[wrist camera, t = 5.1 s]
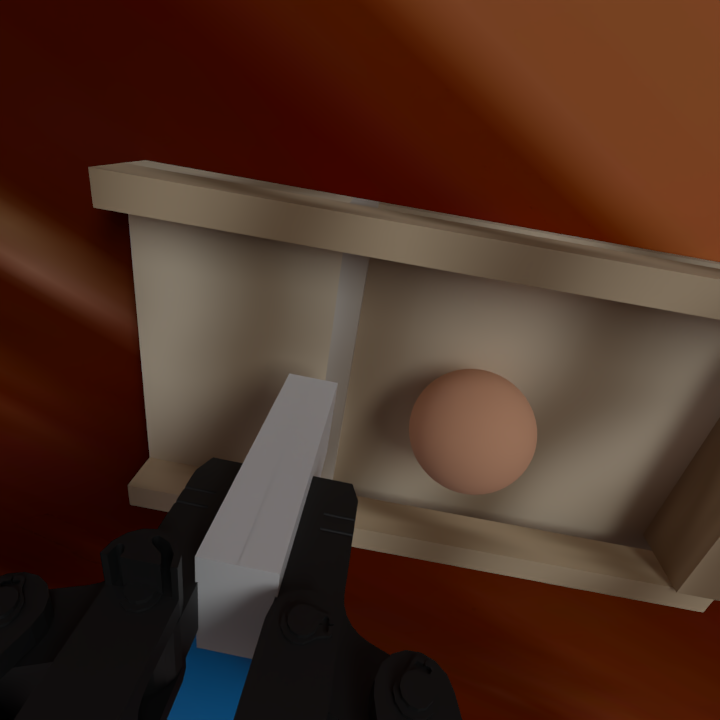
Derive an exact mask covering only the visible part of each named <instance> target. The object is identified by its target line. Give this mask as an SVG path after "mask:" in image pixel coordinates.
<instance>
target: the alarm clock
mask: <svg viewBox="0 0 720 720" xmlns="http://www.w3.org/2000/svg"><path fill="white" fill-rule="evenodd" d="M251 661H252V659H250V658H245V657H240V656H235V655H230V654H226V653H221V652H216V651H211V650H207V649H202V648H197V640H196V636H195V638H194V640H193V643H192V645H191V647H190V650H189V652H188V654H187V657H186V670H185V674H184V679H183V682H182V685H181V687H180V689H179V692H178V694H177V696H176V699H175V701H174V704H173V706H172V708H171V711H170V713H169V716H168V718H167V720H233V719H234V716H235V713H236V710H237V706H238V703H239V700H240V697H241V693H242V690H243V687H244V684H245V681H246V677H247V674H248V671H249V668H250V664H251Z"/></svg>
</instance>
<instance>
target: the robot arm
mask: <svg viewBox="0 0 720 720" xmlns="http://www.w3.org/2000/svg"><path fill="white" fill-rule="evenodd" d="M337 386H338V383H336V382H331V381H326V380H321V379H315V378H310V377H305V376H300V375H295V374H290V373H289V375H288V377H287V379H286V381H285V383H284V385H283V387H282V389H281V391H280V393H279V394H278V396H277V398H276V400H275V402H274V404H273V406H272V408H271V410H270V412H269V414H268V416H267V418H266V420H265V422H264V423H263V425H262V427H261V429H260V431H259V433H258V435H257V437H256V439H255V441H254V443H253V445H252V447H251V449H250V451H249V453H248V454H247V456H246V458H245V460H244V462H243V463H239V462H234V461H229V460H224V459H219V458H214V457H213V458H211V459H210V460H209V461H207V462H206V463H204V464H203V465H202V466H200V467H199V468H198V469H196V470H195V472H194V473H193V475H192V476H191V478H190V480H189V481H188V483H187V484H186V486H185V489H183V490H182V492H181V493H180V495H179V497H178V498H177V501H176V503H174V504H173V506H172V507H171V509H170V511H169V512H168V514H167V515H166V517H165V518H164V520H163V521H162V523H161V524H160V526H159V528H158V529H140V530H136V531H132V532H128V533H126V534H124V535H122V536H120V537H119V538H117V539H115V540H113V541H112V542H111V543H110V544H109V545H108V546H107V547H106V548H104V549H103V550H102V551H101V552H100V555H101V561H102V567H103V573H104V579H105V581H103V582H101V583H96V584H91V585H86V586H76V587H67V588H57V589H48V585H47V583H46V582H45V581H44V580H43V579H42V578H41V577H40V576H38V575H35V574H31V573H27V572H20V573H10V574H5V575H2V576H0V720H167V718H168V716H169V713H170V711H171V708H172V706H173V704H174V701H175V699H176V696H177V694H178V692H179V689H180V687H181V685H182V682H183V679H184V674H185V670H186V657H187V654H188V652H189V650H190V647H191V645H192V643H193V640H194V638H195V636H196V640H197V648H202V649H207V650H211V651H216V652H221V653H226V654H230V655H235V656H240V657H245V658H250V659H252V661H251V664H250V668H249V671H248V674H247V677H246V681H245V684H244V687H243V690H242V693H241V697H240V700H239V703H238V706H237V710H236V713H235V716H234V719H233V720H462V718H461V714H460V711H459V707H458V703H457V700H456V696H455V692H454V690H453V688H452V685H451V683H450V681H449V679H448V676H447V674H446V673H445V672H444V671H443V670H442V669H441V667H440V666H439V665H438V664H437V663H436V662H435V661H434V660H432V659H431V658H429V657H427V656H426V655H424V654H422V653H420V652H414V651H408V650H405V651H401V652H397V653H394V654H391V655H389V654H387V653H386V652H384V651H382V650H381V649H379V648H377V647H376V646H374V645H372V644H371V643H369V642H368V641H366V640H365V639H364V638H363V637H361V636H360V635H359V634H358V633H357V632H356V630H355V629H354V628H353V627H352V625H351V623H350V621H349V620H348V618H347V616H346V611H345V607H344V593H345V586H346V579H347V573H348V566H349V559H350V553H351V546H352V540H353V533H354V526H355V520H356V513H357V507H358V498H357V496H356V493H355V490H354V487H353V484H351V483H346V482H341V481H336V480H331V479H326V478H321V477H320V476H321V472H322V469H323V465H324V461H325V458H326V454H327V449H328V442H329V436H330V430H331V423H332V417H333V411H334V405H335V398H336V392H337Z"/></svg>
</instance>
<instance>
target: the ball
mask: <svg viewBox="0 0 720 720" xmlns="http://www.w3.org/2000/svg"><path fill="white" fill-rule="evenodd" d="M409 438H410V443H411V447H412V450H413V453H414V455H415V457H416V459H417V461H418V463H419V464H420V466H421V467H422V469H423V470H424V471H425V472H426V473H427V474H428V475H429V476H430V477H431V478H432V479H433V480H434V481H436V482H437V483H439V484H440V485H442V486H443V487H445V488H447V489H449V490H452V491H455V492H458V493H463V494H469V495H482V494H488V493H493V492H496V491H499V490H501V489H503V488H505V487H507V486H509V485H510V484H512V483H513V482H515V481H516V480H517V479H518V478H519V477H520V476H521V475H522V474H523V473H524V471H525V470H526V469H527V467H528V466H529V464H530V462H531V460H532V458H533V456H534V453H535V449H536V444H537V425H536V419H535V416H534V413H533V410H532V408H531V406H530V404H529V402H528V401H527V399H526V397H525V396H524V395H523V394H522V392H521V391H520V390H519V389H518V388H517V387H516V386H515V385H514V384H512V383H511V382H510V381H508V380H507V379H505V378H503V377H502V376H500V375H497V374H495V373H492V372H489V371H485V370H480V369H462V370H456V371H452V372H449V373H447V374H444V375H442V376H440V377H439V378H437V379H435V380H434V381H433V382H431V383H430V384H429V385H428V386H427V387H426V388H425V389H424V390H423V391H422V393H421V394H420V395H419V397H418V398H417V400H416V402H415V404H414V406H413V409H412V412H411V416H410V421H409Z"/></svg>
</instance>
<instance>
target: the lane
mask: <svg viewBox="0 0 720 720" xmlns="http://www.w3.org/2000/svg"><path fill="white" fill-rule="evenodd" d="M88 168H89V176H90V185H91V193H92V201H93V207H94V208H99V209H105V210H110V211H116V212H121V213H127V214H128V218H129V229H130V241H131V252H132V263H133V275H134V286H135V297H136V309H137V320H138V331H139V343H140V354H141V365H142V377H143V388H144V399H145V411H146V422H147V433H148V445H149V456H150V457H149V459H148V460H147V461H146V463H145V464H144V465H143V466H142V468H141V469H140V470H139V471H138V473H137V474H136V475H135V477H134V478H133V479H132V480H131V482H130V483H129V484H128V493H129V501H130V505H134V506H139V507H144V508H150V509H155V510H160V511H166V512H169V511H170V509H171V507H172V506H173V504H174V503H176V501H177V498H178V497H179V495H180V493H181V492H182V490H183V489H185V486H186V484H187V483H188V481H189V480H190V478H191V476H192V475H193V473H194V472H195V470H196V469H198V468H199V467H200V466H202V465H203V464H204V463H206V462H207V461H209V460H210V459H211V458H213V457H214V458H219V459H224V460H229V461H234V462H239V463H243V462H244V460H245V458H246V456H247V454H248V453H249V451H250V449H251V447H252V445H253V443H254V441H255V439H256V437H257V435H258V433H259V431H260V429H261V427H262V425H263V423H264V422H265V420H266V418H267V416H268V414H269V412H270V410H271V408H272V406H273V404H274V402H275V400H276V398H277V396H278V394H279V393H280V391H281V389H282V387H283V385H284V383H285V381H286V379H287V377H288V375H289V373H290V374H295V375H300V376H305V377H310V378H315V379H321V380H326V381H331V382H336V383H338V386H337V392H336V398H335V405H334V411H333V417H332V423H331V430H330V436H329V442H328V449H327V454H326V458H325V461H324V465H323V469H322V472H321V476H320V477H321V478H326V479H331V480H336V481H341V482H346V483H351V484H353V487H354V490H355V493H356V496H357V498H358V507H357V513H356V520H355V526H354V533H353V540H352V547H357V548H363V549H368V550H373V551H379V552H384V553H389V554H395V555H400V556H405V557H411V558H416V559H421V560H427V561H432V562H437V563H443V564H448V565H453V566H459V567H464V568H469V569H475V570H480V571H485V572H491V573H496V574H501V575H507V576H512V577H517V578H523V579H528V580H533V581H539V582H544V583H549V584H555V585H560V586H565V587H570V588H576V589H581V590H586V591H592V592H597V593H602V594H608V595H613V596H618V597H624V598H629V599H634V600H640V601H645V602H650V603H656V604H661V605H666V606H672V607H677V608H682V609H688V610H693V611H698V612H704V611H705V610H706V608H707V607H708V606H709V605H710V604H711V602H712V601H713V600H718V601H720V262H715V261H709V260H703V259H698V258H692V257H687V256H681V255H675V254H670V253H664V252H658V251H653V250H647V249H642V248H636V247H630V246H625V245H619V244H613V243H608V242H602V241H597V240H591V239H585V238H580V237H574V236H568V235H563V234H557V233H552V232H546V231H540V230H535V229H529V228H523V227H518V226H512V225H507V224H501V223H495V222H490V221H484V220H478V219H473V218H467V217H462V216H456V215H450V214H445V213H439V212H433V211H428V210H422V209H417V208H411V207H405V206H400V205H394V204H388V203H383V202H377V201H372V200H366V199H360V198H355V197H349V196H343V195H338V194H332V193H327V192H321V191H315V190H310V189H304V188H298V187H293V186H287V185H281V184H276V183H270V182H265V181H259V180H253V179H248V178H242V177H236V176H231V175H225V174H220V173H214V172H208V171H203V170H197V169H191V168H186V167H180V166H175V165H169V164H163V163H158V162H152V161H146V160H144V161H135V162H127V163H119V164H110V165H102V166H94V167H88ZM462 369H480V370H485V371H489V372H492V373H495V374H497V375H500V376H502V377H503V378H505V379H507V380H508V381H510V382H511V383H512V384H514V385H515V386H516V387H517V388H518V389H519V390H520V391H521V392H522V394H523V395H524V396H525V397H526V399H527V401H528V402H529V404H530V406H531V408H532V410H533V413H534V416H535V419H536V425H537V444H536V449H535V453H534V456H533V458H532V460H531V462H530V464H529V466H528V467H527V469H526V470H525V471H524V473H523V474H522V475H521V476H520V477H519V478H518V479H517V480H516V481H515V482H513V483H512V484H510V485H509V486H507V487H505V488H503V489H501V490H499V491H496V492H493V493H488V494H482V495H469V494H463V493H458V492H455V491H452V490H449V489H447V488H445V487H443V486H442V485H440V484H439V483H437V482H436V481H434V480H433V479H432V478H431V477H430V476H429V475H428V474H427V473H426V472H425V471H424V470H423V469H422V467H421V466H420V464H419V463H418V461H417V459H416V457H415V455H414V453H413V450H412V447H411V443H410V438H409V421H410V416H411V412H412V409H413V406H414V404H415V402H416V400H417V398H418V397H419V395H420V394H421V393H422V391H423V390H424V389H425V388H426V387H427V386H428V385H429V384H430V383H431V382H433V381H434V380H435V379H437V378H439V377H440V376H442V375H444V374H447V373H449V372H452V371H456V370H462Z"/></svg>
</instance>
